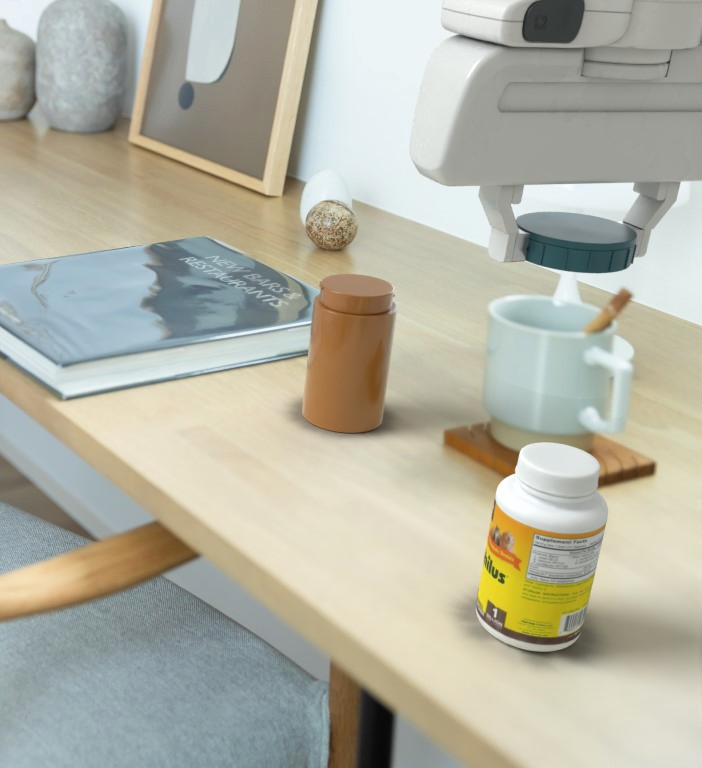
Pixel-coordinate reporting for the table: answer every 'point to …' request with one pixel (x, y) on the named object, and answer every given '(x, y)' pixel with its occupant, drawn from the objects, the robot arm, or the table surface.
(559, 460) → the supplement bottle
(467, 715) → the table surface
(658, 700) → the table surface
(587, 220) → the lid
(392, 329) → the jar
